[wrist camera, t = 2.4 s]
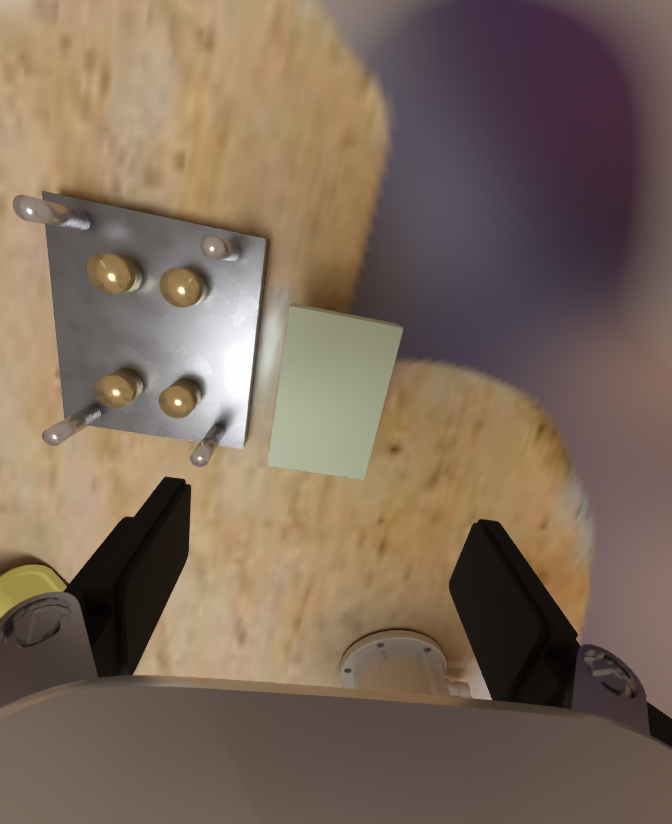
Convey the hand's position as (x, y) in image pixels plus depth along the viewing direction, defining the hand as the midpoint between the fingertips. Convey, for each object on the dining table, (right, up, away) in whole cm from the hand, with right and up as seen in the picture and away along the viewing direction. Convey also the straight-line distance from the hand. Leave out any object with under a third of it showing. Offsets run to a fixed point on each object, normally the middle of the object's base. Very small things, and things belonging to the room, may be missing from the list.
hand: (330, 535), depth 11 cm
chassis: (-13, +10, +15) cm, 22 cm away
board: (0, +5, +13) cm, 15 cm away
